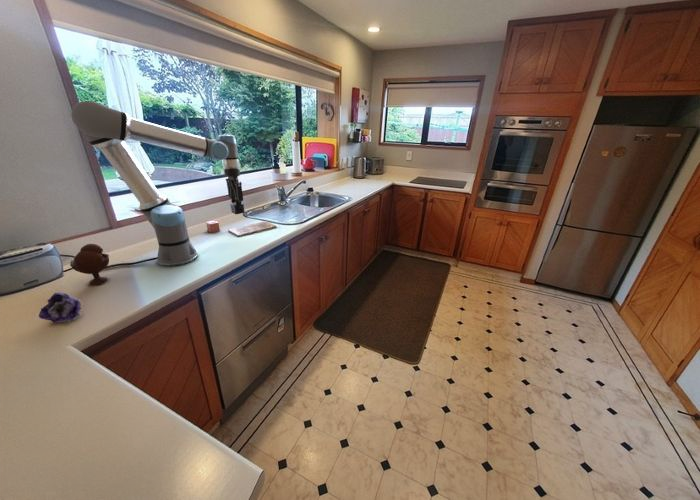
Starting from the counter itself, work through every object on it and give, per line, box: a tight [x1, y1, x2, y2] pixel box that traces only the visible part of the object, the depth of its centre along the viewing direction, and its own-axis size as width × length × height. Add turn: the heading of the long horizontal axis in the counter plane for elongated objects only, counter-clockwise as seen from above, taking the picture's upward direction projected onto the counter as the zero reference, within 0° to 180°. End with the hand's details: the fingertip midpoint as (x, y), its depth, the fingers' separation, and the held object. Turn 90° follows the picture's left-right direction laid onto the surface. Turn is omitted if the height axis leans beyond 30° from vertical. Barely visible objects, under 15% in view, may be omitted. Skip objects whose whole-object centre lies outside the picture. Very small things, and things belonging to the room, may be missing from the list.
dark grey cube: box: [230, 202, 246, 215], centre depth 150 cm, size 5×5×5 cm
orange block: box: [205, 220, 221, 234], centre depth 159 cm, size 5×5×5 cm
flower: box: [38, 292, 82, 324], centre depth 86 cm, size 9×9×10 cm
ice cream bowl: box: [69, 243, 110, 287], centre depth 103 cm, size 11×11×15 cm
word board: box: [228, 220, 277, 238], centre depth 164 cm, size 24×12×1 cm, turn 135°
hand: (237, 212), depth 151 cm, fingers closed on dark grey cube, 5 cm apart
